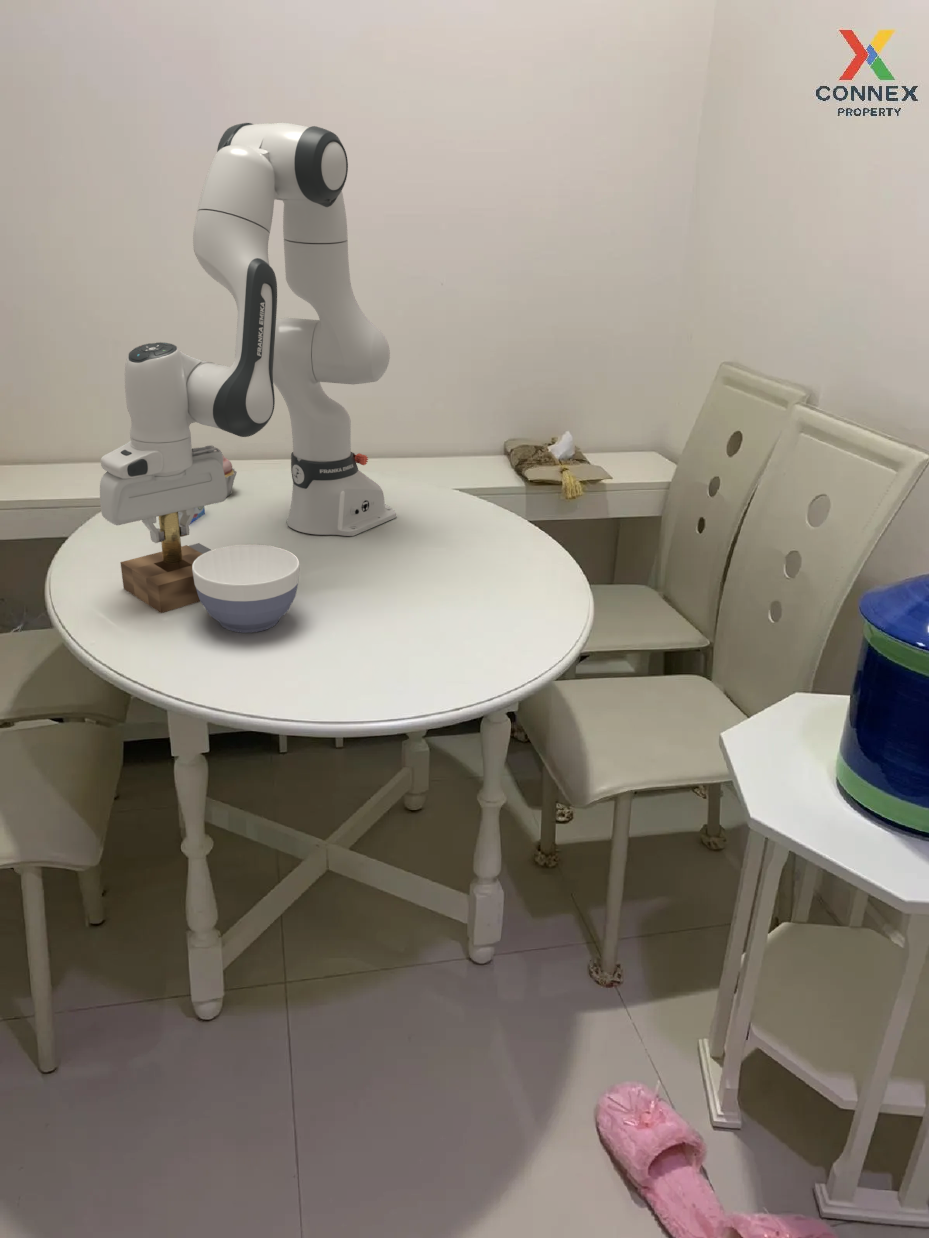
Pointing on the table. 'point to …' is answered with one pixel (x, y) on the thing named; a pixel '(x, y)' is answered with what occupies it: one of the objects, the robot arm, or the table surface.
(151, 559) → the hole block
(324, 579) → the table surface
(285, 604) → the bowl
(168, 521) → the brass peg
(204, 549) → the rubber mat
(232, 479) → the cupcake
